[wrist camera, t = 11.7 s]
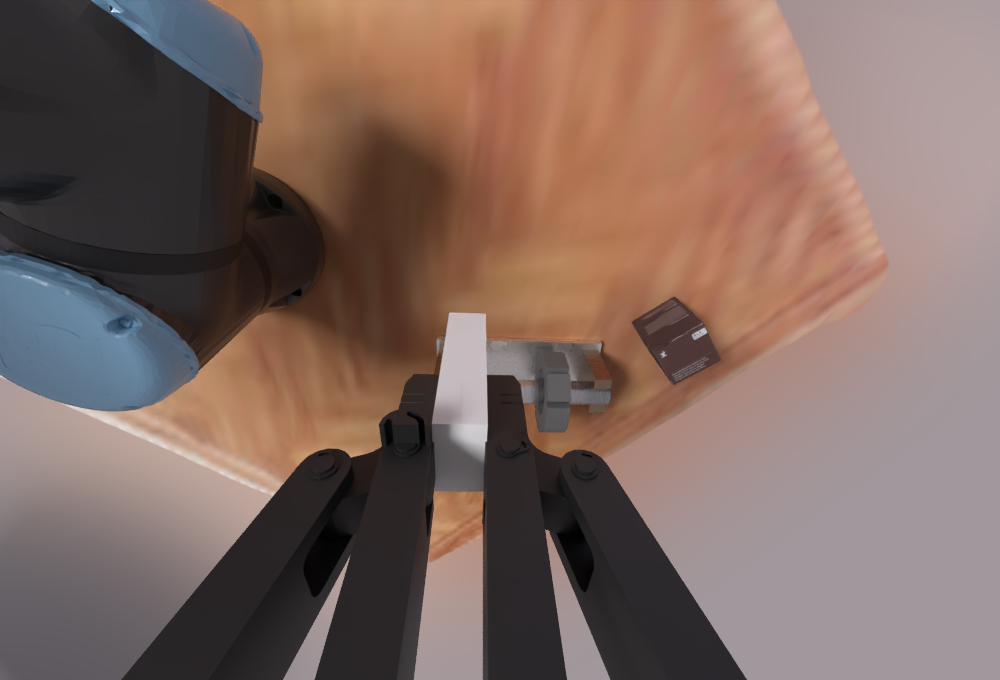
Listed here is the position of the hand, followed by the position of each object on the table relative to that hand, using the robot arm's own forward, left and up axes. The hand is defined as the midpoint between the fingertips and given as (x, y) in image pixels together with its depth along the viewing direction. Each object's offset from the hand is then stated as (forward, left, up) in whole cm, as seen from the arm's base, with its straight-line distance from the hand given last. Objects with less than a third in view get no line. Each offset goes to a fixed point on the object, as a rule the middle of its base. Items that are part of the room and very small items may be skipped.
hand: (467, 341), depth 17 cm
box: (+24, -14, -29) cm, 40 cm away
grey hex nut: (+9, -20, -26) cm, 35 cm away
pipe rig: (+6, -20, -28) cm, 35 cm away
